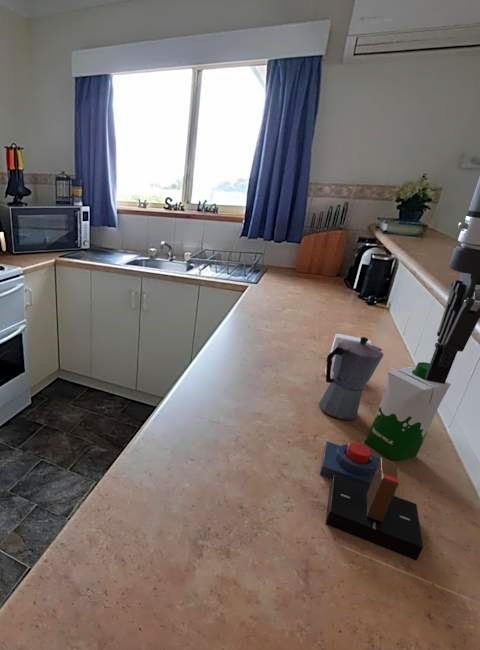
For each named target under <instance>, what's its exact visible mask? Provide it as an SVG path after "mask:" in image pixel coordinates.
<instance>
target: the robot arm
mask: <svg viewBox="0 0 480 650" xmlns="http://www.w3.org/2000/svg"><path fill="white" fill-rule="evenodd" d="M464 220H465V221H464V222H463V221H462V222H459V223H458V226H457V228H458V229H459V230H460V233H459V235H458V239H457V241H458V242H459V243H460V244H458V245H456V246H454V248H453V251H452V254H451V257H450V259H449V262H448V268H449V269H450V270H451V271H454V272H457V273H460V275H459V277H458V279H455V280H453V281H452V282H451V283H450V290H449V294H448V298H447V301H446V304H445V308H444V311H443V314H442V317H441V320H440V324H439V327H438V330H437V332H436V336H437V342H435V343H434V348H435V349H434V351H433V355H432V357H431V360H430V362H429V363H430V365H429V368H428V370H427V373H426V376H425V378H426V380H428V381H432V382H437V383H442V384H445V382H447V379H448V376H449V374H450V372H451V369H452V366H453V364H454V362H455V359H456V356H457V354H458V352H460V353H461V352H463V351H464V350H465V349H466V346H467V344H468V342H469V340H470V338H471V336H472V334H473V332H474V330H475V328H476V326H477V324H478V322H479V320H480V176H479V177H478V181H477V184H476V187H475V190H474V193H473V196H472V199H471V202H470V205H469V208H468V210H467V213H466V216H465V219H464Z"/></svg>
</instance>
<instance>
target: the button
mask: <svg viewBox="0 0 480 650" xmlns="http://www.w3.org/2000/svg"><path fill="white" fill-rule="evenodd" d="M347 445H348V448H347V451H346V456H347V458H349V459H350V460H352V461H354V462H356V463H359V464H367V463H368V461H369V459H370V456H371V453H372V450H371V449H370V448H369V446H366V445H364V444H362V443H359V442H350V443H348V444H347Z"/></svg>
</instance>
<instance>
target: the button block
mask: <svg viewBox="0 0 480 650" xmlns="http://www.w3.org/2000/svg"><path fill="white" fill-rule="evenodd" d="M348 445H349V444H346V443H345V444H342V445H340V444H336V443H333V442H330V441H328V440H327V441H326V442H325V445H324V447H323V451H322V458H321V463H320V471H319V475H320V476H323V477H325V478H328V479H331V480H332V479H333V476H334V475H336V476H339V477H341V478H344V479H347V480H350V481H353V482H356V483H358V484H361V485H364V486H367V487H370V484H371V482H372V479H373V477H374V474H375V472H376V469H377V467H378V464H379V462H380V459H381V457H377V456H375V455H374V454H373V453H372V452H371V456H370V459H369V461H368V463H367V464H359V463H356V462H354V461H352V460H350V459H349V458H347V456H346V451H347V448H348Z"/></svg>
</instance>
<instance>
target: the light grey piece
mask: <svg viewBox="0 0 480 650" xmlns="http://www.w3.org/2000/svg"><path fill="white" fill-rule="evenodd" d="M344 340H349V341H358V342H360V340H361V337H357V336H352V335H347V334H342V333H335V335H334V338H333V342H332V345H331V349H330V352H329V354H330V353H331V352H333V351H334V350H335V348H337V347H338V343H340V342H342V341H344ZM366 344H368V345H372V341H371V339H368V341H367V343H366ZM335 357H336V355H334V357H333V358H332V365H331V372H330V378H331V379H332V376H333V373H334V372H333V367H334V362H335ZM326 369H327V365H326V366H325V370H324V374H325V375H326Z"/></svg>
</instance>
